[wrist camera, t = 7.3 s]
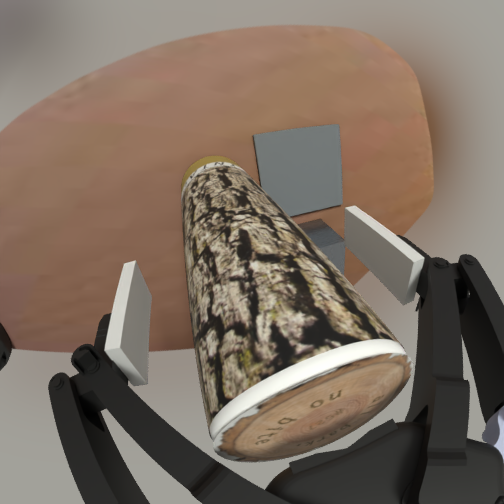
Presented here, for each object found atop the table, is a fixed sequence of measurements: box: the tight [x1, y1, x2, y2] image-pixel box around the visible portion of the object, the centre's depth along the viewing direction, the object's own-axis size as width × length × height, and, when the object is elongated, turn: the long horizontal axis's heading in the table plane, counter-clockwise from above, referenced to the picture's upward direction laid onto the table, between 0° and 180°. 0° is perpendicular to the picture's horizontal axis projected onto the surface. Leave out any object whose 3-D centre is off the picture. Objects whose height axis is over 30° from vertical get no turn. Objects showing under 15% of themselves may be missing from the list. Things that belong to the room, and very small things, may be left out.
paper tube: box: [181, 156, 413, 462], centre depth 18 cm, size 7×7×25 cm
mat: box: [253, 124, 342, 217], centre depth 29 cm, size 10×10×1 cm
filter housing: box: [298, 219, 345, 275], centre depth 33 cm, size 12×12×6 cm
